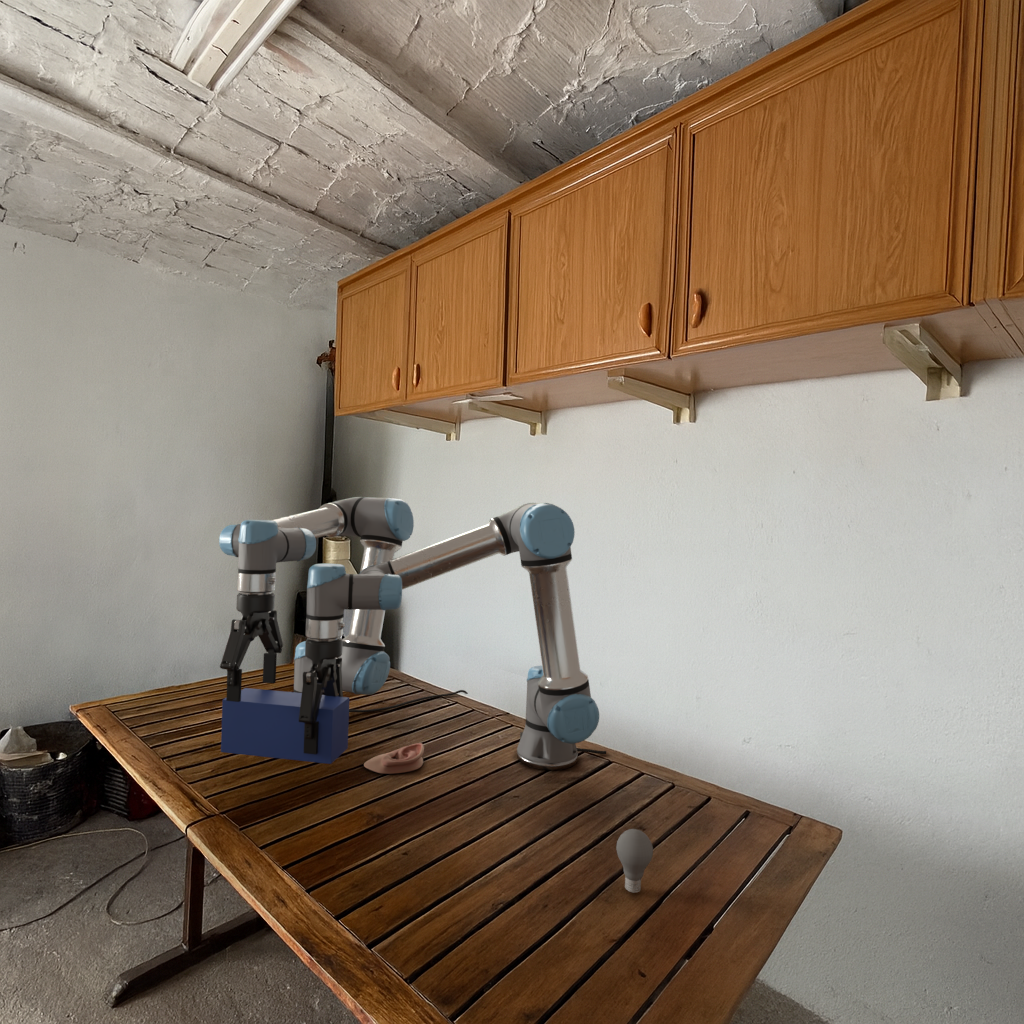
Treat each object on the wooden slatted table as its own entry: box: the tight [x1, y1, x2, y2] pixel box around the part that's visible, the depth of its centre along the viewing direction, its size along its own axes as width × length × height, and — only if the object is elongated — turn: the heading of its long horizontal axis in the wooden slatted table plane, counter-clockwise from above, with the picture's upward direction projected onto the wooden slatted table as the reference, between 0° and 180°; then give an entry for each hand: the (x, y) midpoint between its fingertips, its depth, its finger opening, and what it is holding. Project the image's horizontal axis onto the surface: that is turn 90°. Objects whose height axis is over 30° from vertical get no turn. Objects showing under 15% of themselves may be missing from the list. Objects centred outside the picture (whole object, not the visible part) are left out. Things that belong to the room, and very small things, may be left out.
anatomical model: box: [363, 742, 425, 775], centre depth 151 cm, size 13×4×12 cm
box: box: [220, 687, 350, 765], centre depth 134 cm, size 24×8×11 cm, turn 81°
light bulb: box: [615, 828, 654, 894], centre depth 106 cm, size 6×6×10 cm
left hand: (252, 691), depth 135 cm, fingers open, 13 cm apart
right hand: (320, 744), depth 133 cm, fingers closed on box, 8 cm apart
